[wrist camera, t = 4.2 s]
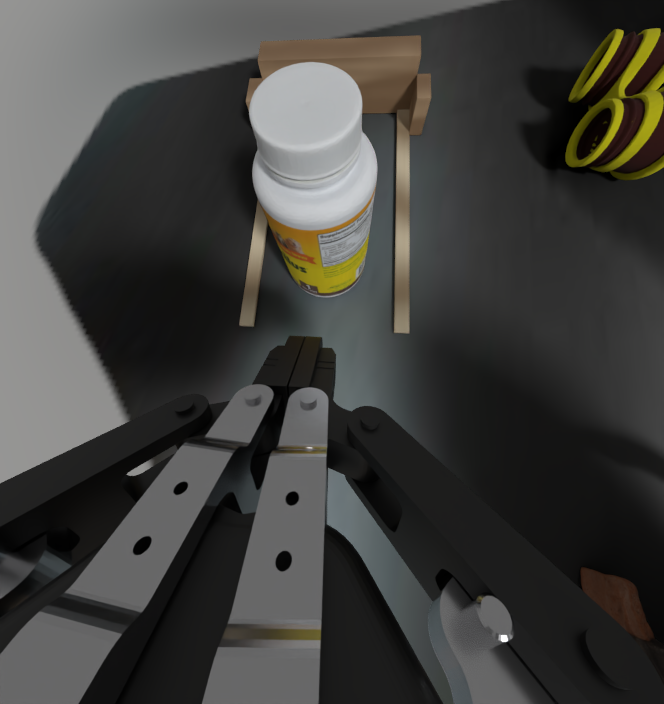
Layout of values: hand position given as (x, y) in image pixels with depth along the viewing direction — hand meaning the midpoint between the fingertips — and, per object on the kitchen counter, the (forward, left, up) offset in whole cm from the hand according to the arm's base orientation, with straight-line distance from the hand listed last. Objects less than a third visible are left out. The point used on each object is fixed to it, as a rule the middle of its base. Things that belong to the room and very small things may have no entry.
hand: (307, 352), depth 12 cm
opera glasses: (-28, +1, -6) cm, 29 cm away
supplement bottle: (-6, -5, -5) cm, 9 cm away
